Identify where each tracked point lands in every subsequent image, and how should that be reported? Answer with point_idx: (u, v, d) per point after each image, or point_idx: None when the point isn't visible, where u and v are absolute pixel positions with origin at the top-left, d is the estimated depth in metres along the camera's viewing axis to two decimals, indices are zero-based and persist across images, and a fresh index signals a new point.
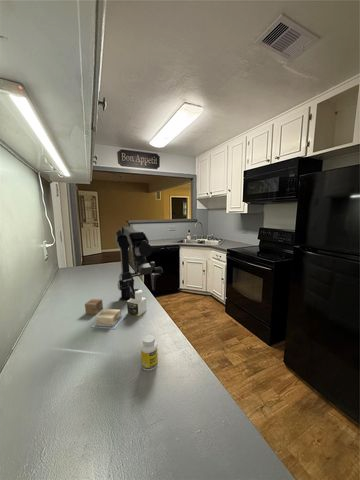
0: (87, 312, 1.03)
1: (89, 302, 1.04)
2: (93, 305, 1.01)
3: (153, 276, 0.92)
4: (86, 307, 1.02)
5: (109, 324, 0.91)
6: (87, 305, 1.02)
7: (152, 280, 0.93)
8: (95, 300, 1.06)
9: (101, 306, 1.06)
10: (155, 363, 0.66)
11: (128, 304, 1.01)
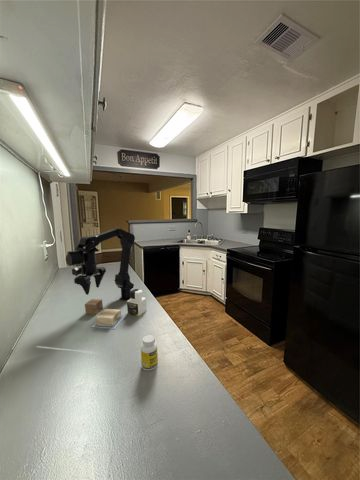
0: (87, 312, 1.03)
1: (89, 302, 1.04)
2: (93, 305, 1.01)
3: None
4: (86, 307, 1.02)
5: (109, 324, 0.91)
6: (87, 305, 1.02)
7: None
8: (95, 300, 1.06)
9: (101, 306, 1.06)
10: (155, 363, 0.66)
11: (128, 304, 1.01)
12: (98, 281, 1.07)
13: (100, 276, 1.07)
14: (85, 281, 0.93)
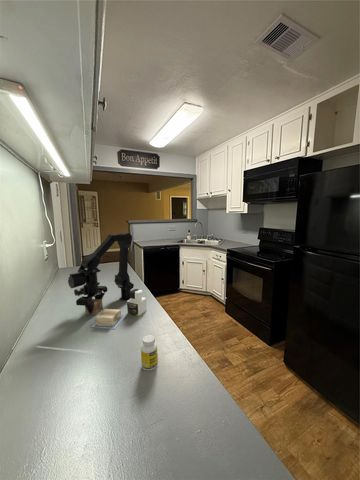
0: (87, 312, 1.03)
1: None
2: (93, 305, 1.01)
3: None
4: None
5: (109, 324, 0.91)
6: None
7: None
8: (95, 300, 1.06)
9: (101, 306, 1.06)
10: (155, 363, 0.66)
11: (128, 304, 1.01)
12: None
13: (100, 296, 1.08)
14: (86, 303, 0.95)
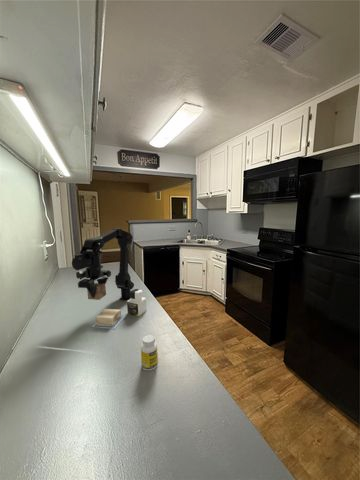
0: (89, 296, 0.97)
1: None
2: (96, 289, 0.96)
3: None
4: (88, 291, 0.97)
5: (109, 324, 0.91)
6: None
7: None
8: (97, 284, 1.00)
9: (104, 290, 1.01)
10: (155, 363, 0.66)
11: (128, 304, 1.01)
12: None
13: (103, 281, 1.02)
14: (89, 285, 0.90)
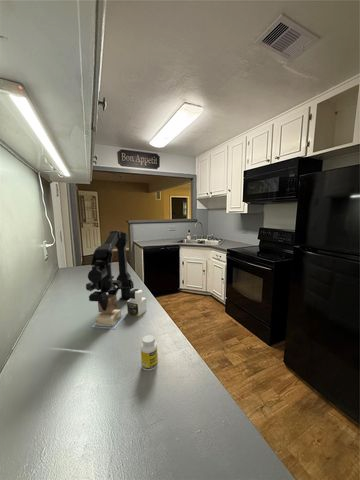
0: (100, 309, 0.92)
1: None
2: None
3: None
4: (99, 304, 0.91)
5: (109, 324, 0.91)
6: None
7: None
8: (108, 296, 0.95)
9: (115, 302, 0.95)
10: (155, 363, 0.66)
11: (128, 304, 1.01)
12: None
13: (114, 292, 0.97)
14: (101, 299, 0.84)
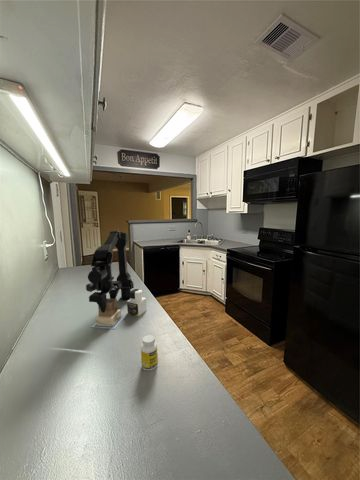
0: (100, 313, 0.92)
1: None
2: (108, 306, 0.91)
3: None
4: (99, 308, 0.92)
5: (109, 324, 0.91)
6: None
7: None
8: (109, 300, 0.95)
9: (116, 306, 0.96)
10: (155, 363, 0.66)
11: (128, 304, 1.01)
12: (113, 297, 0.98)
13: (115, 292, 0.97)
14: (101, 299, 0.84)
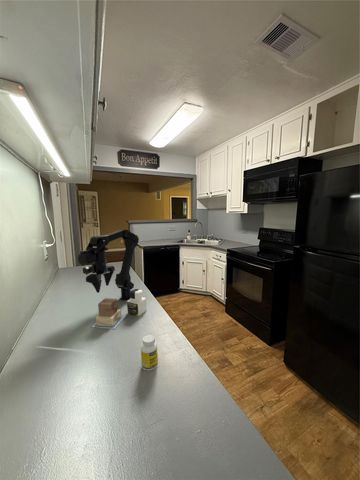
0: (100, 313, 0.92)
1: (103, 302, 0.93)
2: (108, 306, 0.91)
3: None
4: (99, 308, 0.92)
5: (109, 324, 0.91)
6: (100, 305, 0.91)
7: None
8: (109, 300, 0.95)
9: (116, 306, 0.96)
10: (155, 363, 0.66)
11: (128, 304, 1.01)
12: (108, 279, 1.10)
13: (109, 274, 1.10)
14: (96, 279, 0.96)
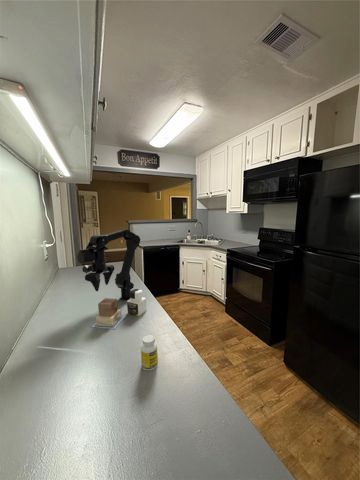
0: (100, 313, 0.92)
1: (103, 302, 0.93)
2: (108, 306, 0.91)
3: None
4: (99, 308, 0.92)
5: (109, 324, 0.91)
6: (100, 305, 0.91)
7: None
8: (109, 300, 0.95)
9: (116, 306, 0.96)
10: (155, 363, 0.66)
11: (128, 304, 1.01)
12: (107, 278, 1.11)
13: (109, 274, 1.11)
14: (95, 278, 0.97)
